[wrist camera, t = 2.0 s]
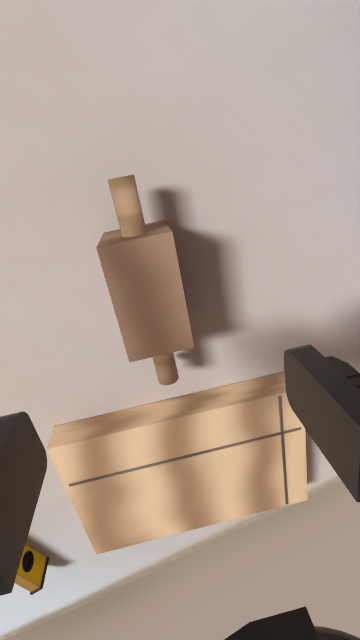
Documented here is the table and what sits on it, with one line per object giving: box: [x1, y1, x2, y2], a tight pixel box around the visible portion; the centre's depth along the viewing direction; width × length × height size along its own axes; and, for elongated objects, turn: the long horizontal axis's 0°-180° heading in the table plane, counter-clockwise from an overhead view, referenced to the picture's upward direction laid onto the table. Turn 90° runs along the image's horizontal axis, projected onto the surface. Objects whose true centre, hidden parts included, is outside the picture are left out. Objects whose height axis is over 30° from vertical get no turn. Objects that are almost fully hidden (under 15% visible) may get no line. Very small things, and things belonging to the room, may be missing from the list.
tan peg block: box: [97, 175, 194, 385], centre depth 21 cm, size 4×13×5 cm, turn 10°
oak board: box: [47, 372, 307, 554], centre depth 29 cm, size 20×13×3 cm, turn 100°
